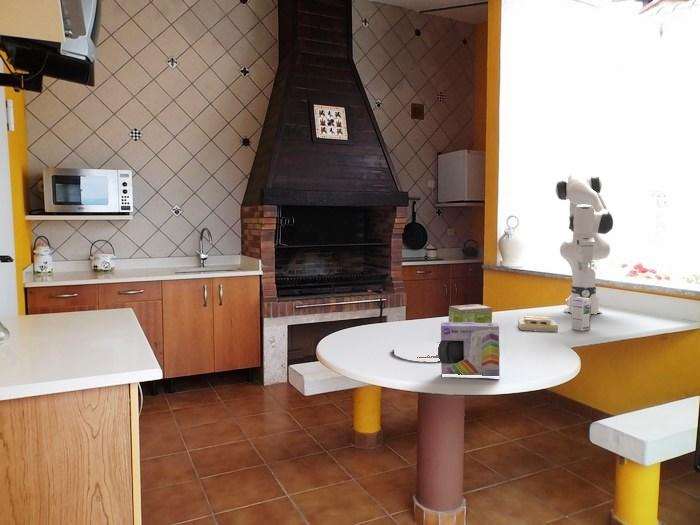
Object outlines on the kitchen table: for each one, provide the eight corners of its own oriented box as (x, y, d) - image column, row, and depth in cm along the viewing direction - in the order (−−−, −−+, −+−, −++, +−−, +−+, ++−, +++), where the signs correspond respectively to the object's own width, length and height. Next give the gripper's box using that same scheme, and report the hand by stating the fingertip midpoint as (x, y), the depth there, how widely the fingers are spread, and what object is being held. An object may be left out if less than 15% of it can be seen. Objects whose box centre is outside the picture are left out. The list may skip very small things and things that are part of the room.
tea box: (461, 346, 212) (462, 309, 210) (447, 340, 221) (447, 305, 220) (492, 342, 218) (492, 306, 217) (476, 337, 227) (477, 303, 226)
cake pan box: (437, 377, 170) (438, 323, 169) (438, 373, 175) (438, 320, 174) (499, 381, 166) (500, 325, 165) (498, 376, 171) (499, 322, 170)
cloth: (523, 319, 249) (524, 315, 249) (548, 320, 246) (548, 316, 246) (525, 323, 240) (525, 319, 240) (551, 324, 238) (551, 320, 238)
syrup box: (582, 331, 237) (583, 299, 236) (571, 328, 242) (572, 297, 241) (590, 329, 240) (591, 298, 239) (578, 327, 245) (579, 296, 244)
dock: (517, 325, 251) (518, 318, 251) (553, 326, 248) (553, 320, 247) (520, 330, 239) (520, 323, 239) (557, 332, 236) (557, 325, 236)
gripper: (571, 239, 249) (571, 269, 250) (580, 241, 229) (579, 273, 230) (586, 239, 247) (585, 269, 248) (596, 241, 227) (595, 273, 228)
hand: (582, 271), depth 239 cm, fingers open, 8 cm apart
